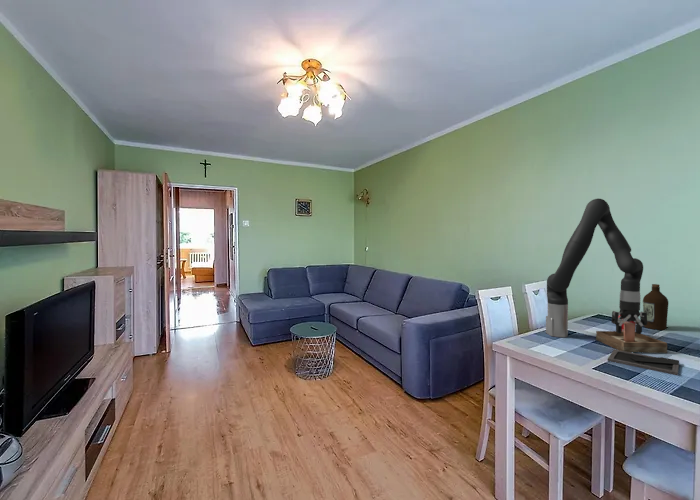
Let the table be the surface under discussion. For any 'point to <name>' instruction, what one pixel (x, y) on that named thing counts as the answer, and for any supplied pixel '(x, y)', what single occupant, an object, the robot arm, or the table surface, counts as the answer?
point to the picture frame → (645, 361)
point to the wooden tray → (640, 344)
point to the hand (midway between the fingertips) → (628, 333)
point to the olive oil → (656, 309)
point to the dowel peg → (629, 332)
